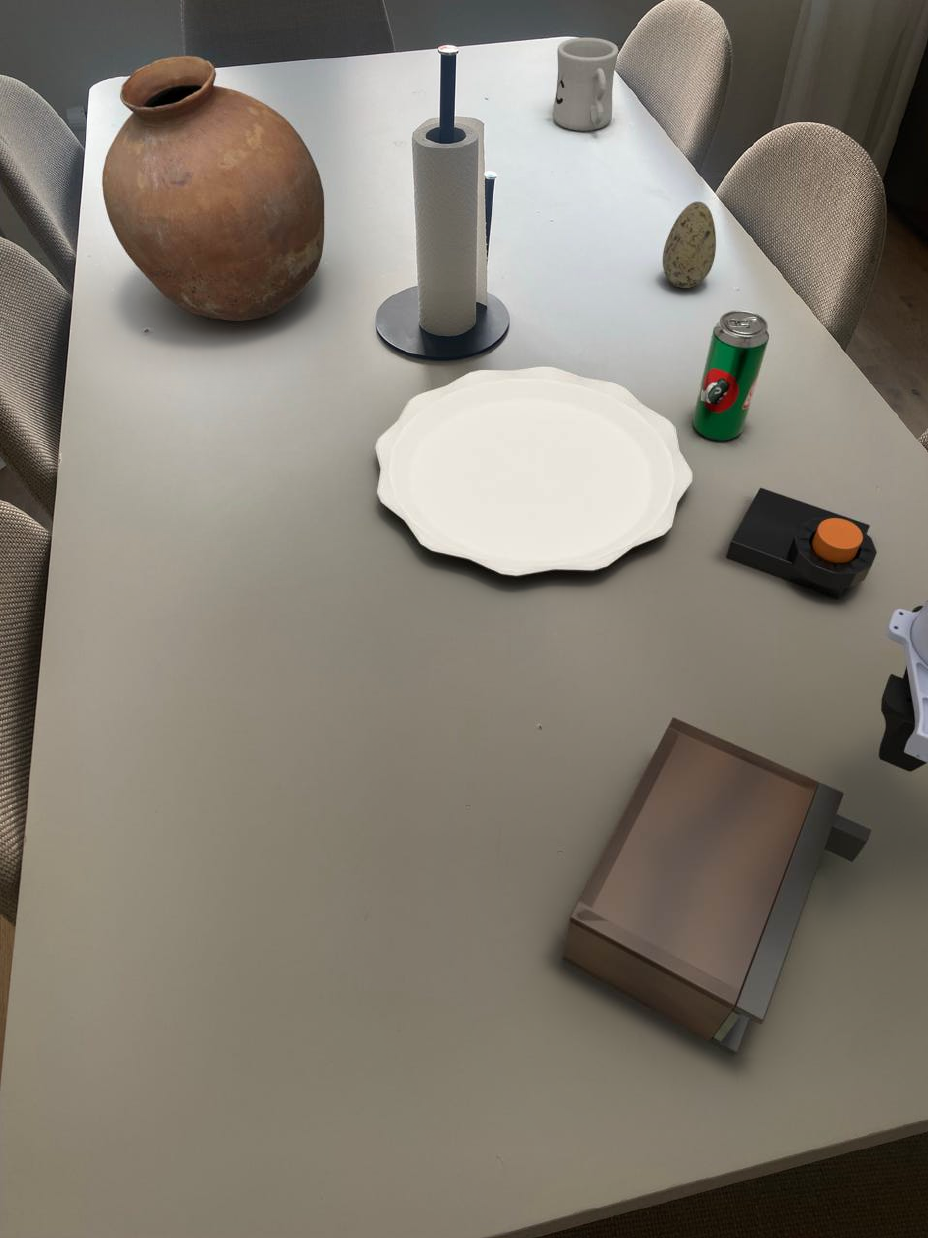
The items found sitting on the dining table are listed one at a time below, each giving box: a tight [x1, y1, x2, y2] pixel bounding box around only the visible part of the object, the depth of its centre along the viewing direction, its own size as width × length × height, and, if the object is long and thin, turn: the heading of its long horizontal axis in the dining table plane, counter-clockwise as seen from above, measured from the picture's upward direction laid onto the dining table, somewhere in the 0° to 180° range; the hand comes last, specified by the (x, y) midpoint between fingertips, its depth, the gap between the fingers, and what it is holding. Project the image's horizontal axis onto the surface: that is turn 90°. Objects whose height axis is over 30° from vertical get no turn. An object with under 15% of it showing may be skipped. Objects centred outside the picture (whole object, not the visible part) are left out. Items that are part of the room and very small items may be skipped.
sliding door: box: [824, 813, 872, 863], centre depth 58 cm, size 3×8×5 cm, turn 150°
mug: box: [552, 37, 619, 132], centre depth 136 cm, size 12×9×10 cm
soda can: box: [692, 310, 770, 442], centre depth 88 cm, size 5×5×12 cm
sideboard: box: [560, 717, 845, 1056], centre depth 58 cm, size 12×16×7 cm
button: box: [812, 518, 863, 563], centre depth 76 cm, size 4×4×2 cm
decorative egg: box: [662, 201, 717, 289], centre depth 106 cm, size 6×6×10 cm
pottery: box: [101, 55, 325, 322], centre depth 99 cm, size 23×23×25 cm
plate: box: [374, 365, 693, 578], centre depth 87 cm, size 29×29×2 cm
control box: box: [725, 487, 878, 601], centre depth 79 cm, size 11×9×4 cm
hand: (904, 734), depth 58 cm, fingers open, 4 cm apart
